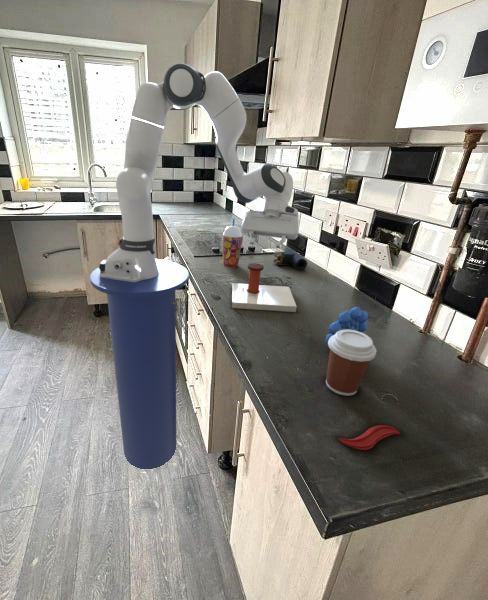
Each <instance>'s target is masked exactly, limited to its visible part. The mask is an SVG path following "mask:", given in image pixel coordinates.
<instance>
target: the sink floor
mask: <svg viewBox="0 0 488 600" xmlns="http://www.w3.org/2000/svg"><path fill="white" fill-rule="evenodd" d="M248 284H249V283H232V287H231V290H232V291H231V293H232V294H231V308H232V309H240V310H241V309H244V310H255V311H256V310H257V311H271V312H288V313H296V312H297V308H298V306H297V304H296V301H295V298H294V296H293V293H292V291H291V288H290V286H284V285H283V286H281V285H268V284H259V291H258V293H257V294H251V293H248Z"/></svg>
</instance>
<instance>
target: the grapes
mask: <svg viewBox="0 0 488 600" xmlns="http://www.w3.org/2000/svg"><path fill="white" fill-rule="evenodd" d="M368 318H369V313H368V311H367V310H362V309H361V308H360V307H359V306H354V307H352V308H351V309H349V311H342V312H340V313H339V314H338V316H337V320H335V321H333V322H331V324H330V325H329V326H328V334H327V335H326V336H325V344H326V345H328V340H329V339H330V337H331V336H333V335H335V334H336V333H337V332H338V331H340V330H346V329H348V330H355V331H359V332H361V333H364V332H365V331H367V330H368V327H369V323H368Z"/></svg>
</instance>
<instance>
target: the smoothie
mask: <svg viewBox="0 0 488 600" xmlns="http://www.w3.org/2000/svg"><path fill="white" fill-rule="evenodd" d="M243 236H244V233H243V231H242V229H241V227H239V226H237V225H235V218H232V224H231V225H228V226H226V228H225V229H224V231H223V232H222V264H223V266H224V267H226V268H232V269H233V268H236V267H238V264H239V263H240V256H241V249H242V243H243Z"/></svg>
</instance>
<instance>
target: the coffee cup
mask: <svg viewBox="0 0 488 600" xmlns="http://www.w3.org/2000/svg"><path fill="white" fill-rule="evenodd" d="M327 345H328V348H329V355H328V362H327V370H326V377H325V385H326V386H327V387H328V389H329V390H331V392H333V393H335V394H338V395H339V396H341V395H342V396H346V397H348V396H353V395H355V394H357V393H358V389H359V387H360V384H361V382H362V379H363V378H364V375H365V373H366V370H367V368H368V365H369V363H370V361H372V360H374V359H375V358H376V356H377V352H378V351H377V348H376V346H375V345H374V342H373V339H372V338H371V337H370V336H369V335H367V334H366V333H364V332H359V331H355V330H348V329H346V330H340V331H338V332H337V333H336V334H335V335H333V336H331V337H330V339H329V340H328V344H327Z"/></svg>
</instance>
